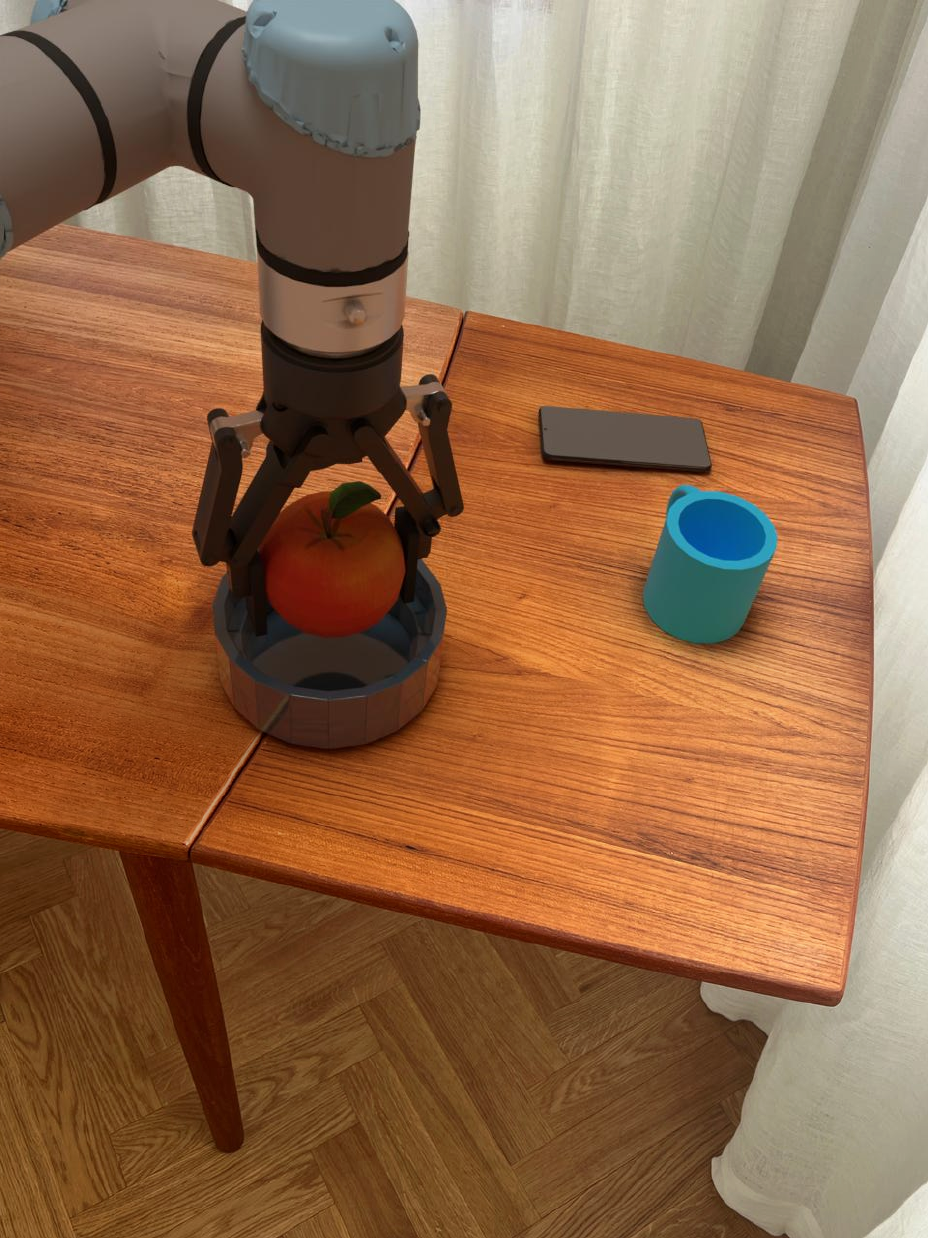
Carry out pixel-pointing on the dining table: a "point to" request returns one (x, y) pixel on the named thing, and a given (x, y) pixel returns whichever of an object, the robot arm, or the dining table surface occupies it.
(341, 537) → the fruit
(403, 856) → the dining table surface
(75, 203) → the robot arm
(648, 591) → the mug
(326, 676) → the bowl
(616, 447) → the smartphone
